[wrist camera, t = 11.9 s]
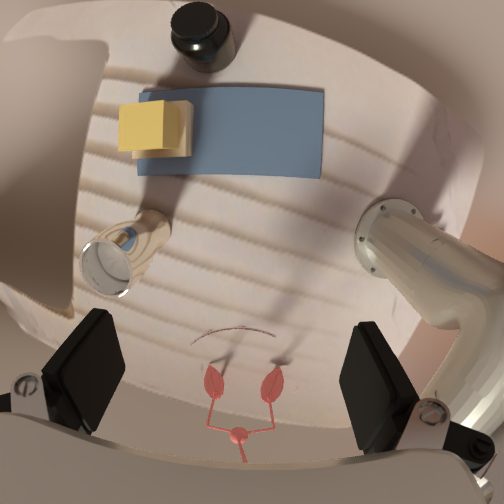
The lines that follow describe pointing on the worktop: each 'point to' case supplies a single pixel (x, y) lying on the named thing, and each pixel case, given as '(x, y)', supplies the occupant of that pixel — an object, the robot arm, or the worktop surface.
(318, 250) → the worktop surface
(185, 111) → the beech base block
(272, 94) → the board
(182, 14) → the supplement bottle
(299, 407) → the worktop surface
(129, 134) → the mustard block
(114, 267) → the beer glass
